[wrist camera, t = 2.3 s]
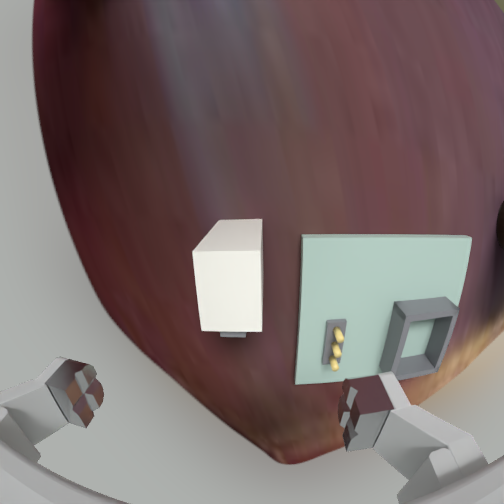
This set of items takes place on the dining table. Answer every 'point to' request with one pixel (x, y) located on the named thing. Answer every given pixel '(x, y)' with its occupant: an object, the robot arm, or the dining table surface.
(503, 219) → the coffee mug
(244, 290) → the plug
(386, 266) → the board
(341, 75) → the dining table surface
